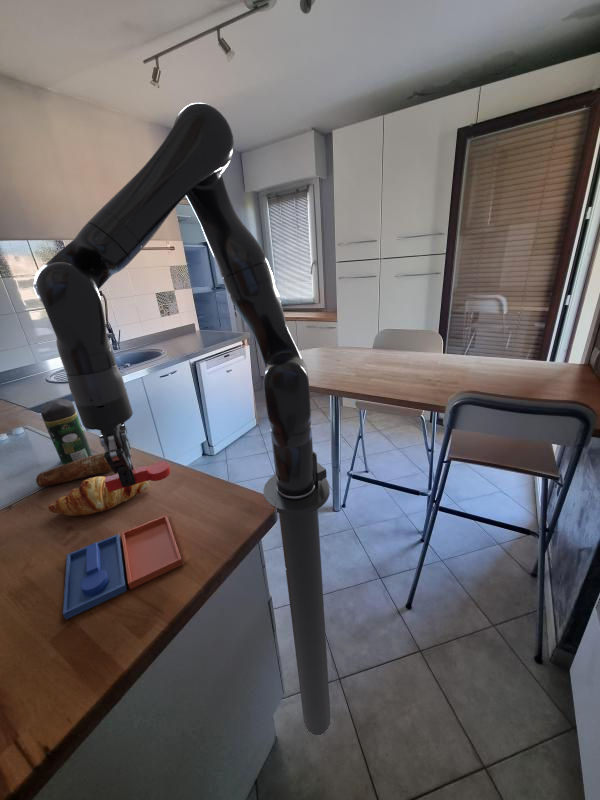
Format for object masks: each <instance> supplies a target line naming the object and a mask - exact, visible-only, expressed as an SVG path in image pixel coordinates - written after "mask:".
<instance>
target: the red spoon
mask: <svg viewBox="0 0 600 800" xmlns="http://www.w3.org/2000/svg"><path fill="white" fill-rule="evenodd" d="M132 471H133V474H134V477H135V480H136V483H135V484H138V483H142V482H148V481H151V482H159V481H162V480H164V479H166V478H168V477H169V476H170V475H171V467H170V464H169V462H167V461H158V462H155V463H152V464H150V465H149V466H148V465H144V466H140V467H137V468H134V469H133V470H132ZM104 477H105V484H106V487H107V490H108V492H112V491H115V490H118V489H122V488H125V487H122V484H121V481H120V478H119V475H118V473H116V474H112V475H109V476H104ZM135 484H134V485H135Z"/></svg>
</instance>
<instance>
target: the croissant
mask: <svg viewBox="0 0 600 800" xmlns="http://www.w3.org/2000/svg"><path fill="white" fill-rule="evenodd" d="M105 477H106V476H101V475H98V476H97V475H96V476H94V477H89V478H87V479H85V480H82V482H81V483H80V486H79V487H74V488H73V489H71V490H70V492H69V494H67V495H62V496H61V497H59V498H57V499H56V501H54V502H52V503H49V504H48V505H47V510H49V512H51V513H53V514H61V515H66V516H69V517H75V516H76V517H77V516H89V515H94V514H95V513H96V514H97V513H101V512H105V511H108V510H110V509H113V508H115V507H116V506H118V505H120V504H121V503H124V502H127V501H129V500H130V499H131V498H133V497H135V495H140V494H142V493H144V492H145V491H147V490H148V489H149V487H150V483H149V482H148V481H145V482H142V483H138V484H135V485H132V486H129V487H125V488H122V489H118V490H115V491H112V492H108V490H107V487H106V484H105Z"/></svg>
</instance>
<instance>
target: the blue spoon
mask: <svg viewBox="0 0 600 800" xmlns="http://www.w3.org/2000/svg"><path fill="white" fill-rule="evenodd" d="M85 547H86V573H87V575H86V576H85V577H84V578H83V579H82V581H81V583H80V588H81V590H82V592H83V594H84V595H85V596H94V595H96V594H98V593H100V592H101V591H103V590H104V589H105V588H106V586H107V585H108V582H109V579H108V576H107V574H106V572H105V571H104V570H101V559H100V549H99V546H98V544H97V541H96V542H93V543H91V544H89V545H86V546H85Z"/></svg>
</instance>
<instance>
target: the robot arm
mask: <svg viewBox="0 0 600 800" xmlns="http://www.w3.org/2000/svg"><path fill="white" fill-rule="evenodd" d="M234 145H235V142H234V135H233V131H232V128H231V126H230V123H229V121H228V120H227V119H226V117H225V116H224V115H223V114H222V113H221V111H219V110H218V109H217V108H216V107H214V106H212V105H211V104H208V103H204V102H194V103H190V104H189V105H186V106H185V107H184V108H183V109H182V110H181V111H180V112H179V113H178V114H177V116H176V118H175V119H174V122H173V124H172V127H171V129H170V131H169V132H168V134H167V136H166V137H165V139H164V140H163V141H162V143H161V145H159V147H158V148H157V150H155V152H154V154H152V156H151V157H150V158H149V160H148V161H147V162H146V163H145V165H144V166H143V167H142V168H140V170H139V171H138V172H137V173H136V174H135V175H134V176H133V177H132V178H131V179H130V180H129V181H128V182H127V183H126V184H125V185H124V186H123V187H121V189H120V190H119V191H118V192H117V193H115V194H114V195H113V196H112V198H110V199H109V200H108V201H107V202H106V203H105V204H104V205H103V206H102V207H101V208H100V209H99V210H98V211H97V212H96V213H95V214H94V215H93V216H92V217H91V218H90V219H89V220H88V221H87V222H86V223H85V225H84V226H83V227H82V228H81V229H80V230H79V232H78V233H77V234H76V236H75V238H73V239H72V241H71V242H69V243H68V244H67V245H65V246H64V247H63V248H62V249H60V251H58V252H57V253H56V254H55V255H54V256H53V257H52V258H50V259H49V260H48V261H47V262H46V263H44V265H43V266H41V267H40V269H38V271H37V272H36V274H35V276H34V279H33V289H34V293H35V295H36V297H37V298H38V300H39V301H40V302H41V303H42V305H43V307H44V310H45V312H46V314H47V317H48V320H49V322H50V325H51V328H52V330H53V332H54V334H55V338H56V340H55V341H56V343H55V344H56V347H57V352H58V355H59V358H60V361H61V363H62V367H63V370H64V371H65V375H66V379H67V383H68V388H69V391H70V394H71V396H72V399H73V403H74V406H75V407H76V411H77V414H78V417H79V419H80V422H81V425H82V427H84V428H85V429H87V430H90V431H91V430H92V431H94V430H95V431H96V430H97V431H100V435H99V436H98V437H99V442H100V446H101V447H103V448H104V449H103V450H104V452H105V453H104V458H105V459H106V461H107V462H108V464H109V466H110V467H111V469H112V470H111V472H112V473H113V475H115V474H118V475H119V478H120V481H121V484H122V487H129V486H132V485H134V484H135V483H136V480H135V477H134V474H133V471H132V470H133V469H135V467H134V465H133V462H132V453H131V441H130V438H129V435H128V427H127V424H125V423H126V422H127V421H129V420H130V419H131V418H132V416H133V408H132V405H131V402H130V399H129V395H128V391H127V389H126V384H125V381H124V377H123V375H122V373H121V371H120V368H119V366H118V364H117V361H116V357H115V354H114V351H113V347H112V344H111V341H110V339H109V335H108V333H107V326H106V325H107V323H106V319H105V313H104V306H103V302H102V297H101V295H100V291H99V290H100V289H101V288H102V287H103V286H104V285H105V284H106V282H107V281H109V279H110V278H111V277H113V276H114V275H115V274H117V273H119V272H121V271H123V270H124V269H125V268H126V267H127V266H128V265H129V264H130V263H131V262H132V261H133V260H134V259H135V258H136V256H137V255H138V254H140V252H141V251H142V250H143V249H144V248H145V247H146V246H147V244H149V242H150V241H151V240H152V238H153V237H154V236H155V235H156V233H157V232H158V231H159V229H160V228H161V227H162V225H163V224H164V223H165V221H166V220H167V219H168V218H169V216H170V215H171V213H172V212H173V211H174V210H175V209H176V208H177V206H178V205H179V204H180V203H181V201H182V200H183V199H184V198H185V197H186V198H187V200H188V203H189V204H190V206H191V208H192V211H193V212H194V214H195V216H196V218H197V220H198V222H199V224H200V226H201V230H202V231H203V235H204V237H205V241H206V242H207V245H208V247H209V249H210V252H211V255H212V257H213V259H214V262H215V264H216V267H217V269H218V272H219V275H220V277H221V280H222V282H223V285H224V287H225V289H226V291H227V294H228V297H229V298H230V301H231V302H232V304H233V306H234V308H235V310H236V312H237V313H238V314H239V316H240V317H241V319H242V320H243V322H244V323H245V325H246V326H247V327H248V330H249V331H250V332H251V333H252V336H253V337H254V339H255V341H256V344H257V346H258V349H259V352H260V355H261V358H262V362H263V365H264V369H265V371H264V375H263V393H264V402H265V408H266V415H267V416H266V417H267V420H268V422H269V429H270V437H271V445H272V454H273V463H274V475H275V477H276V481H277V492H278V494H279V495H280V496H281V497H283V498H285V499H287V500H302V499H305V498H307V497H309V496H310V495H312V494H313V492H314V491H315V489H316V488H318V481H322V480H323V479H324V478H326V479H327V468H326V467H324V466H322V464H320V463H319V462H318V456H317V455H318V454H317V453H316V452H315V451H314V448H313V446H314V445H313V432H312V410H311V394H310V380H309V372H308V368H307V365H306V363H305V361H304V359H303V357H302V355H301V353H300V351H299V348H298V347H297V345H296V343H295V341H294V339H293V336H292V334H291V332H290V330H289V327H288V324H287V321H286V317H285V312H284V309H283V304H282V301H281V297H280V293H279V290H278V287H277V284H276V281H275V277H274V275H273V272H272V270H271V267H270V264H269V261H268V259H267V256H266V253H265V252H264V250H263V248H262V246H261V245H260V243H259V242H258V240H257V239H256V238H255V236H254V235H253V233H252V232H251V230H249V229H248V228H247V227H246V225H245V224H244V223H243V221H242V220H241V219H240V217H239V216H238V214H237V212H236V210H235V209H234V205H233V204H232V200H231V197H230V196H229V193H228V190H227V187H226V184H225V181H224V177H223V173H224V172H225V170H226V169H227V167H229V164H230V163H231V160H232V157H233V154H234V150H235V149H234V147H235V146H234Z"/></svg>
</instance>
